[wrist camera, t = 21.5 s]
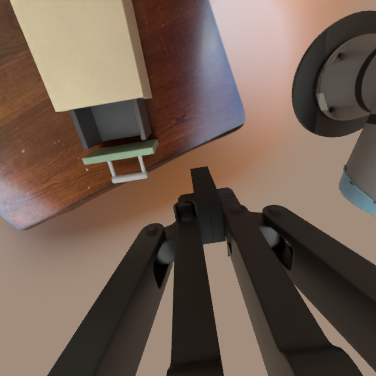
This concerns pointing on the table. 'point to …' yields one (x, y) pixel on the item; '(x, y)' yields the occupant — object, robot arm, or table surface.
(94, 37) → the cabinet
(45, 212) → the table surface
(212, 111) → the table surface
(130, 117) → the drawer
